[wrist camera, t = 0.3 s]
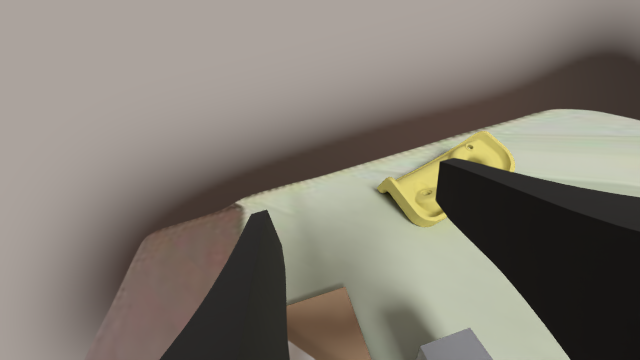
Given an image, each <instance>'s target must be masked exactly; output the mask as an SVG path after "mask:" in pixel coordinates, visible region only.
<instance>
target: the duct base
mask: <svg viewBox="0 0 640 360" xmlns="http://www.w3.org/2000/svg"><path fill="white" fill-rule="evenodd" d="M286 308H287V335H288V347H289V355H290V360H371V358H370V355H369V352H368V349H367V346H366V344H365V341H364V338H363V335H362V332H361V330H360V327H359V324H358V321H357V318H356V316H355V313H354V310H353V307H352V304H351V302H350V299H349V296H348V293H347V290H346V288H345V287H343V288H340V289H337V290H334V291H331V292H328V293H325V294H322V295H319V296H315V297H312V298H309V299H306V300H303V301H300V302H297V303H294V304H291V305H288V306H286Z"/></svg>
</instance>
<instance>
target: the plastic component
mask: <svg viewBox="0 0 640 360" xmlns="http://www.w3.org/2000/svg"><path fill="white" fill-rule="evenodd" d="M468 147H469V148H470V149H469V148H468ZM451 158H458V159H463V160H468V161H472V162H476V163H480V164H484V165H488V166H491V167H495V168H499V169H503V170H506V171H510V172H514V169H515V162H514V158H513V156H512V154H511V153H510V152H509V150H508V149H507V148H506V147H505V146H504V145H503V144H502V143H500V142H499V141H498V140H497V139H496V138H495V137H493V136H492V135H491V134H490V133H489V132H487V131H480V132H478V133H476V134H474V135H472V136H471V137H469V138H468V139H466V140H465V141H463V142H462V143H460V144H459V145H457V146H456V147H454V148H452V149H451V150H449V151H448V152H446V153H444V154H443V155H441V156H439V157H438V158H436V159H434V160H432V161H431V162H429V163H427V164H425V165H424V166H422V167H420V168H418V169H416V170H414V171H412V172H410V173H408V174H406V175H404V176H402V177H401V178H399V179H397V180H395V179H393V178H392V177H388V178H386V179H385V180H384V181H383V182H382V183H381V184H380V185H379V186H378V187H377V189H378V190H379V192H381V193H385V192H389V193H390V194H391V195H392V197H393V198H394V199H395V201H396V202H397V203H398V205H399V206H400V207H401V209H402V210H403V211H404V213H405V214H406V215H407V217H408V218H409V219H410V220H411V221H412V222H413V223H414V224H416V225H418V226H421V227H430V226H433V225H434V224H436V223H438V222H440V221H441V220H443V219H445V218H446V217H447V216H446V214H445V213H444V212H443V210H442V209H441V208H440V206H439V205H438V204H437V202H436V201H435V198H436V189H437V181H438V172H439V163H440V161H443V160H447V159H451Z"/></svg>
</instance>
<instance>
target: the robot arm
mask: <svg viewBox="0 0 640 360" xmlns="http://www.w3.org/2000/svg"><path fill="white" fill-rule="evenodd" d="M435 201H436V202H437V204H438V205H439V206H440V208H441V209H442V210H443V212H444V213H445V214H446V216H447V217H448V218H449V219H450V220H451V221H452V222H453V224H454V225H455V226H456V227H457V228H458V229H459V230H460V231H461V232H462V233H463V234H464V235H465V236H466V237H467V238H468V239H469V240H470V241H471V242H472V243H474V244H475V245H476V246H477V247H478V248H479V249H480V250H481V251H482V252H483V253H484V254H485V255H486V256H487V257H488V258H489V259H490V260H491V261H492V262H493V263H494V264H495V265H496V266H497V268H498V269H499V270H500V271H501V272H502V273H503V274H504V275H505V276H506V278H507V279H508V280H509V281H510V282H511V283H512V285H513V286H514V287H515V288H516V289H517V291H518V292H519V293H520V294H521V295H522V297H523V298H524V299H525V300H526V302H527V303H528V304H529V305H530V307H531V308H532V309H533V310H534V312H535V313H536V314H537V315H538V317H539V318H540V319H541V321H542V322H543V323H544V324H545V326H546V327H547V328H548V330H549V331H550V332H551V334H552V335H553V336H554V338H555V339H556V341H557V342H558V343H559V345H560V346H561V347H562V349H563V350H564V351H565V353H566V354H567V355H568V357H569V358H570V360H640V197H633V196H627V195H620V194H614V193H608V192H602V191H597V190H591V189H585V188H580V187H575V186H570V185H565V184H561V183H556V182H552V181H547V180H543V179H538V178H534V177H530V176H526V175H522V174H518V173H514V172H510V171H506V170H503V169H499V168H495V167H491V166H488V165H484V164H480V163H476V162H472V161H468V160H463V159H458V158H451V159H447V160H443V161H440V163H439V172H438V181H437V189H436V198H435ZM160 360H290V355H289V347H288V335H287V308H286V276H285V264H284V257H283V250H282V245H281V242H280V240H279V237H278V235H277V233H276V230H275V228H274V225H273V223H272V220H271V218H270V216H269V213H268V211H267V210H264V211H261V212H257V213H254V214H251V216H250V218H249V220H248V222H247V224H246V226H245V228H244V230H243V232H242V234H241V236H240V238H239V240H238V242H237V244H236V246H235V248H234V249H233V251H232V253H231V255H230V257H229V259H228V261H227V263H226V264H225V266H224V268H223V269H222V271H221V273H220V274H219V276H218V278H217V279H216V281H215V283H214V285H213V286H212V288H211V289H210V291H209V293H208V294H207V296H206V297H205V299H204V300H203V302H202V303H201V305H200V306H199V308H198V309H197V311H196V312H195V313H194V315H193V316H192V318H191V319H190V321H189V322H188V323H187V325H186V326H185V328H184V329H183V330H182V332H181V333H180V334H179V335H178V337H177V338H176V339H175V341H174V342H173V343H172V344H171V346H170V347H169V348H168V350H167V351H166V352H165V353H164V355H163V356H162V357H161V358H160Z"/></svg>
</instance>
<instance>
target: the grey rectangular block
mask: <svg viewBox="0 0 640 360" xmlns="http://www.w3.org/2000/svg"><path fill="white" fill-rule="evenodd" d="M416 360H493V359H492V358H491V356H490V355H489V353H488V352H487V351H486V349H485V348H484V347H483V345H482V344H481V342H480V341H479V340H478V338H477V337H476V335H475V334H474V333H473V331H472V330H471V328H468V329H465V330H462V331H460V332H457V333H454V334H451V335H449V336H446V337H443V338H441V339H438V340H435V341H433V342H430V343H427V344H424V345H422V346H420V348H419V352H418V355H417V358H416Z"/></svg>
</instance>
